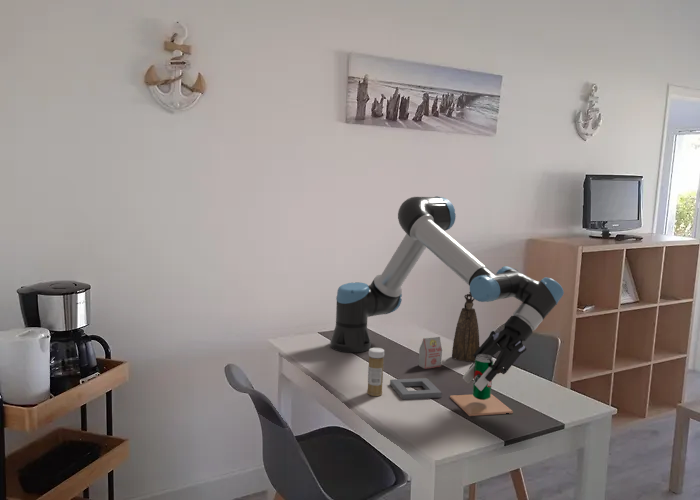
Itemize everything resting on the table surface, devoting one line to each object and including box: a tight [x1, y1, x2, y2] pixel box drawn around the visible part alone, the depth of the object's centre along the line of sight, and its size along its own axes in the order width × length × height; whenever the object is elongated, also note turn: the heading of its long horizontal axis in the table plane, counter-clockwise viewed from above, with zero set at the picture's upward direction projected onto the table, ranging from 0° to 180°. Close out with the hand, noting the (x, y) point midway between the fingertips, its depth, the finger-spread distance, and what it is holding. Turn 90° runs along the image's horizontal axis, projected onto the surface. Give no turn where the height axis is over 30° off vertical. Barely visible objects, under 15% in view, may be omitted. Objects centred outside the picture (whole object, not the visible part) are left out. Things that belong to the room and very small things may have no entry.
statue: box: [451, 291, 481, 362], centre depth 204 cm, size 9×8×25 cm
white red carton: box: [418, 336, 443, 370], centre depth 195 cm, size 4×7×10 cm, turn 118°
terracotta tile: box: [449, 393, 514, 417], centre depth 163 cm, size 13×13×1 cm
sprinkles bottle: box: [366, 347, 385, 397], centre depth 167 cm, size 5×5×13 cm
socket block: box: [389, 377, 443, 400], centre depth 172 cm, size 12×12×2 cm
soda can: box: [472, 354, 494, 400], centre depth 162 cm, size 5×5×12 cm
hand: (471, 384), depth 161 cm, fingers closed on soda can, 5 cm apart
